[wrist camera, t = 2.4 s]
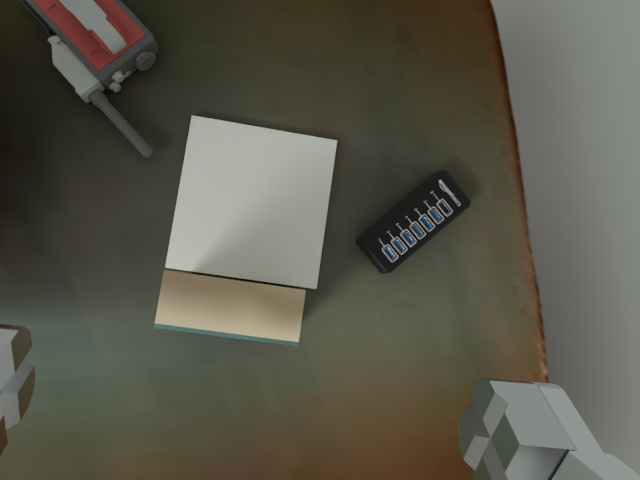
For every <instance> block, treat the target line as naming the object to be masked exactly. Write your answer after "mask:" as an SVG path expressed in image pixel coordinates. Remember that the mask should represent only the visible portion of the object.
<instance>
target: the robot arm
mask: <svg viewBox="0 0 640 480" xmlns="http://www.w3.org/2000/svg"><path fill="white" fill-rule="evenodd" d="M31 347H32V341H31V334H30V330H28V329H27V328H25V327H19V326H12V325H4V324H0V455H1V454H2V452H3V450H4V448H5V447H6V445H7V443H8V442H7V434H6V430H7V429H8V428H10V427H11V426H13V425H15V424H16V423H18V422H19V421H21V419H22V417H23V415H24V413H25V412H26V410H27V408H28V406H29V403H30V400H31V397H32V393H33V390H34V382H35V370H34V365H33V364H32V363H31V362H30V361H29V360H28V359H27V358H26V357H25V356H26V355H27V353H28V352H29V350H30V349H31ZM472 394H473V397H474V399H475V402H474V403H472V404H471V405H469V406H468V407H466V408H465V409H464V411H463V413H462V416H461V418H460V421H459V430H458V439H459V446H460V450H461V453H462V456H463V459H464V460H465V461H466V462H467V463H468V464H469V465H470V466H471V467H472V468H473V469H474V470H475V471H474V474H473V476H472V479H471V480H640V476H639V475H638V474H637V473H635V472H634V471H633V470H631V469H630V468H629V467H627V466H626V465H625V464H623V463H622V462H621V461H620V460H618V459H617V458H615V457H614V456H613V455H609V454H604V453H603V452H602V450H601V448H600V447H599V445H598V443H597V442H596V440H595V439H594V437H593V436H592V434H591V432H590V431H589V430H588V428H587V426H586V425H585V423H584V421H583V420H582V418H581V417H580V415H579V414H578V412H577V410H576V409H575V407H574V406H573V404H572V403H571V401H570V399H569V398H568V396H567V395H566V393H565V392H564V390H563V389H562V388H561V387H559V386H558V385H557V384H549V383H538V382H523V381H513V380H503V379H494V378H484V377H482V378H480V379H479V380H478V381H477V382H476V384H475V386H474V388H473V390H472Z"/></svg>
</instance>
